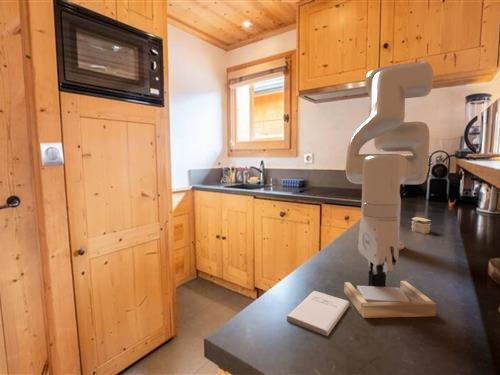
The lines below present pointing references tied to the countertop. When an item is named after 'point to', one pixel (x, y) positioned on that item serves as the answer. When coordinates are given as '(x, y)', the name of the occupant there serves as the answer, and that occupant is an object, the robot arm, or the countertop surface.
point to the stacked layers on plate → (420, 225)
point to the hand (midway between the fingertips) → (376, 288)
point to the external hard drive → (319, 312)
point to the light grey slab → (382, 294)
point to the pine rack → (393, 304)
